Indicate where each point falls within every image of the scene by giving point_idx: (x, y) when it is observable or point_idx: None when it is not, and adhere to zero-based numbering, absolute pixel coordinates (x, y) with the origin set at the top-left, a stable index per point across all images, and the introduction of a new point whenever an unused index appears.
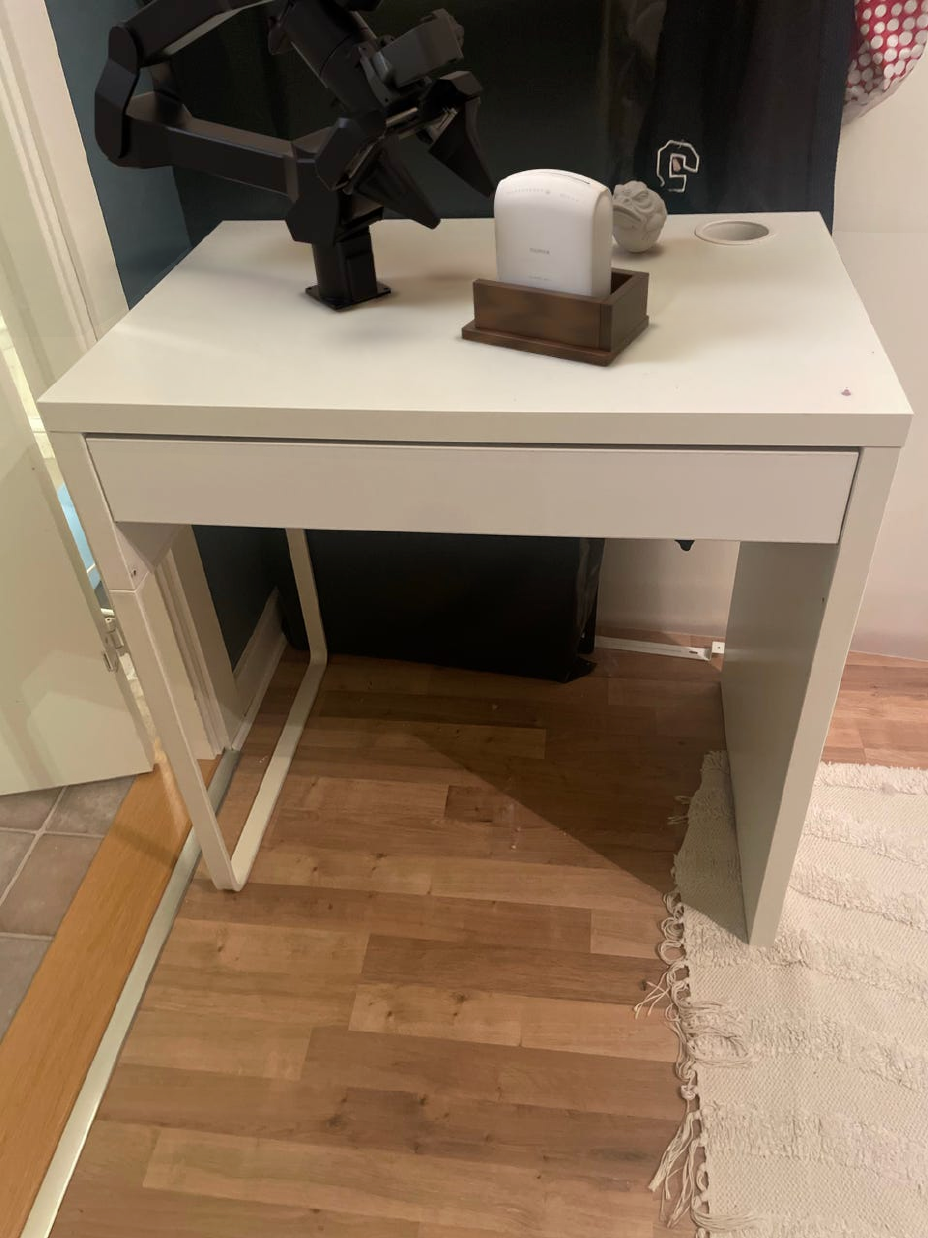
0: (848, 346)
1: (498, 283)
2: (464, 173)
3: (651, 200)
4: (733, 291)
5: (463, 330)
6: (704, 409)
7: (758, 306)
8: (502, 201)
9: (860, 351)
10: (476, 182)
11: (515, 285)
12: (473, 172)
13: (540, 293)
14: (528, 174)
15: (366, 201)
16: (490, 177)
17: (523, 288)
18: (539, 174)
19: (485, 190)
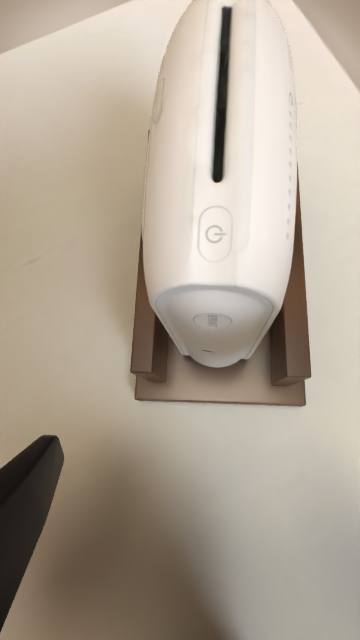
0: (132, 16)
1: (296, 323)
2: (5, 586)
3: None
4: (17, 147)
5: (305, 400)
6: (333, 65)
7: (55, 111)
8: (289, 268)
9: (140, 6)
10: (39, 511)
11: (289, 289)
12: (11, 539)
13: (301, 234)
14: (249, 154)
15: None
16: (21, 460)
17: (297, 268)
18: (254, 110)
19: (55, 468)
